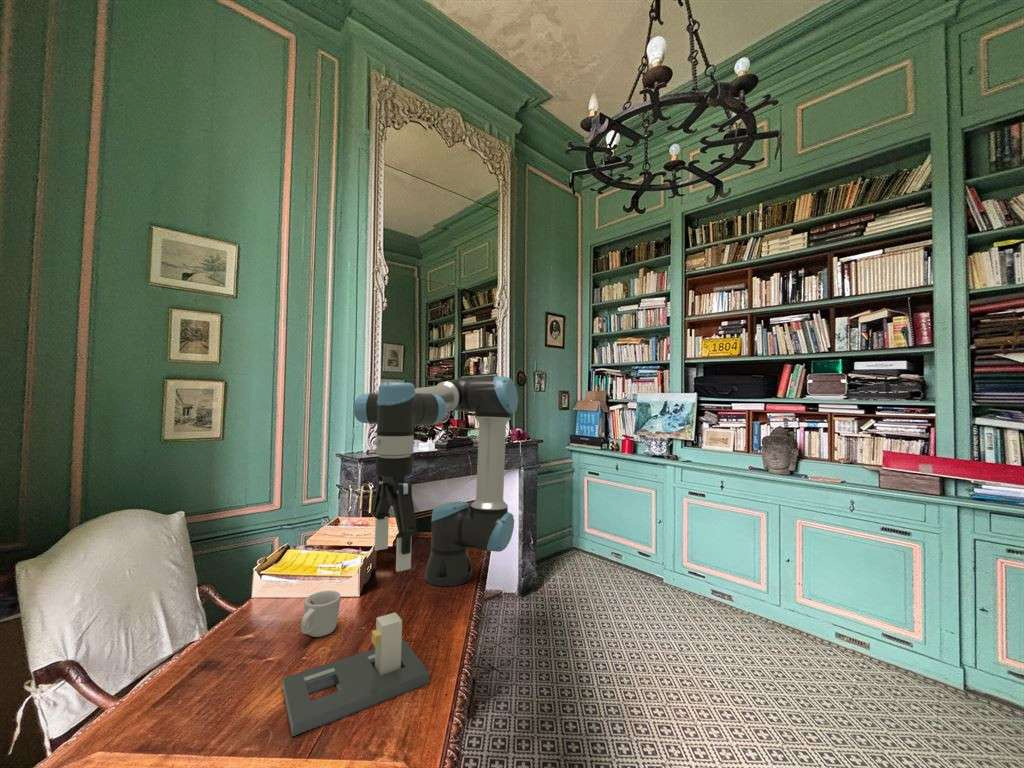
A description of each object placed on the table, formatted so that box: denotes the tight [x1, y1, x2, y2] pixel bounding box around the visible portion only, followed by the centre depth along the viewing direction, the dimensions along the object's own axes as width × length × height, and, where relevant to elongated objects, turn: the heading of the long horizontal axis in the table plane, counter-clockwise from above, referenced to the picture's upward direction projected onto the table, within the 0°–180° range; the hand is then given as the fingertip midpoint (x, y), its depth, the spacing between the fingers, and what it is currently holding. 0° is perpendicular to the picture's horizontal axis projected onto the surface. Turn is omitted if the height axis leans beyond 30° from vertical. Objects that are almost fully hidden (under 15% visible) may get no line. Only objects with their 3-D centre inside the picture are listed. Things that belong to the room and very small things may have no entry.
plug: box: [370, 611, 403, 677], centre depth 83 cm, size 5×4×11 cm
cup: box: [300, 590, 342, 638], centre depth 97 cm, size 11×8×8 cm
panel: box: [282, 638, 430, 738], centre depth 80 cm, size 24×14×2 cm, turn 125°
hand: (391, 558), depth 85 cm, fingers open, 13 cm apart
